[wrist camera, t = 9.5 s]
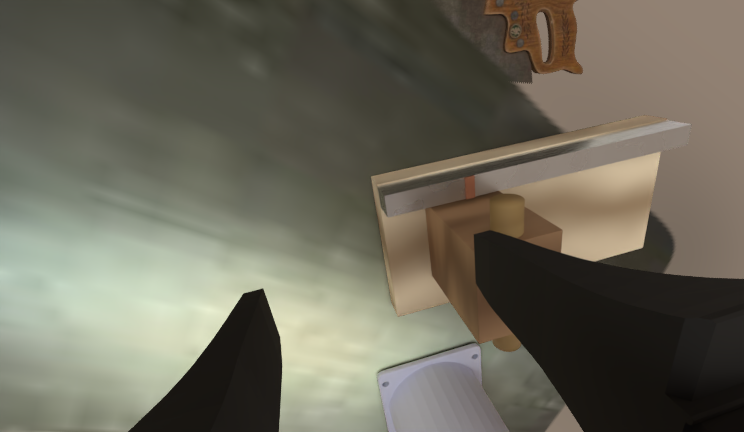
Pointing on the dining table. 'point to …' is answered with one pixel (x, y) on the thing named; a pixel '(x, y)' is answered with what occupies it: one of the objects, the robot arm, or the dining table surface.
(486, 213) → the brown knobbed block
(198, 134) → the dining table surface
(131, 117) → the dining table surface
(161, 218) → the dining table surface
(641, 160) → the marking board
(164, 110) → the dining table surface
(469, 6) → the hand saw
